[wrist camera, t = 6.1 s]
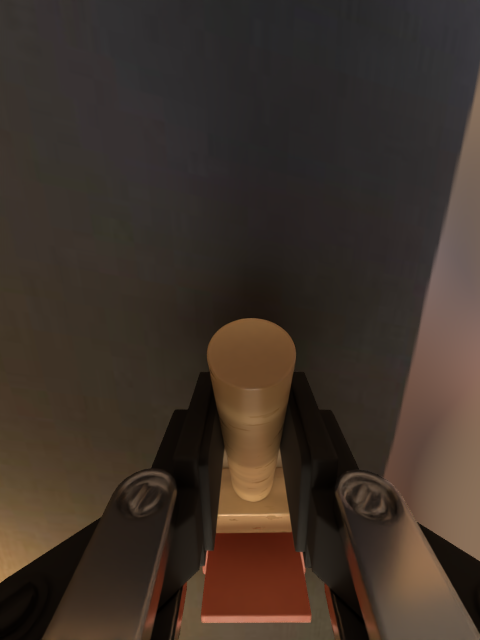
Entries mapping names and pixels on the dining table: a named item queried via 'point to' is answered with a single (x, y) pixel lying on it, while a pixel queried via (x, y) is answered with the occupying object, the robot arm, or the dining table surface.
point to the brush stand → (254, 580)
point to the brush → (252, 423)
